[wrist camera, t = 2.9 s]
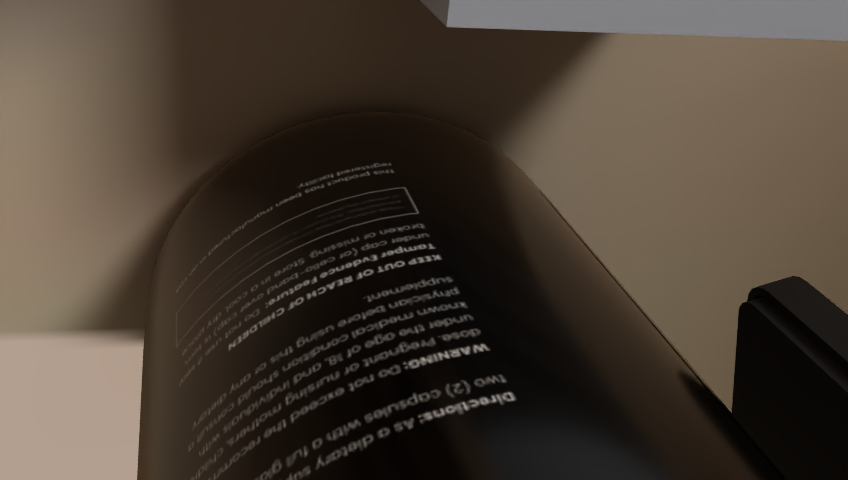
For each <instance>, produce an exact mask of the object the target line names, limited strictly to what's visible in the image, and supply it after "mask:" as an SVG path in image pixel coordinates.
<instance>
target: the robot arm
mask: <svg viewBox="0 0 848 480" xmlns="http://www.w3.org/2000/svg"><path fill="white" fill-rule="evenodd" d="M732 414H733V416H734V417H735V418H736V419H737V420H738V421H739V423H740V424H741V425H742V426H743V427H744V428H745V430H746V431H747V432H748V433H749V434H750V435H751V437H752V438H753V439H754V440H755V441H756V442H757V444H758V445H759V446H760V447H761V448H762V450H763V451H764V452H765V453H766V454H767V455H768V457H769V458H770V459H771V460H772V461H773V462H774V464H775V465H776V466H777V467H778V468H779V469H780V471H781V472H782V473H783V474H784V475H785V476H786V478H787V479H788V480H848V315H847V314H846V313H845V312H843V311H842V310H841V309H840V308H839V307H837V306H836V305H835V304H834V303H832V302H831V301H830V300H829V299H827V298H826V297H825V296H824V295H823V294H821V293H820V292H819V291H818V290H816V289H815V288H814V287H813V286H811V285H810V284H809V283H808V282H807V281H805V280H803V279H802V278H800V277H796V276H792V277H788V278H785V279H782V280H778V281H775V282H772V283H768V284H765V285H762V286H758V287H756V288H753V289H752V290H751V291H750V293H749V295H748V300H747V302H744V303H742V304H741V306H740V308H739V316H738V330H737V345H736V359H735V374H734V388H733V402H732Z"/></svg>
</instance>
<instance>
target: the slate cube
mask: <svg viewBox="0 0 848 480" xmlns="http://www.w3.org/2000/svg"><path fill="white" fill-rule="evenodd" d="M420 1H421V2H422V3H423V4H424V5H425V6H426V7H427V8H428V9H429V10H430V11H431V12H432V13H433V14H434V15H435V16H436V17H437V18H438V19H439V20H440V21H441V22H442V23H443V24H444V25H445V26H446V27H460V28H488V29H517V30H546V31H575V32H604V33H633V34H662V35H691V36H720V37H749V38H778V39H807V40H836V41H848V0H420Z"/></svg>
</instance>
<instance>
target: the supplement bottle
mask: <svg viewBox="0 0 848 480" xmlns="http://www.w3.org/2000/svg"><path fill="white" fill-rule="evenodd" d="M140 413H141V414H140V433H139V454H138V474H137V480H788V479H787V478H786V476H785V475H784V474H783V473H782V472H781V471H780V469H779V468H778V467H777V466H776V465H775V464H774V462H773V461H772V460H771V459H770V458H769V457H768V455H767V454H766V453H765V452H764V451H763V450H762V448H761V447H760V446H759V445H758V444H757V442H756V441H755V440H754V439H753V438H752V437H751V435H750V434H749V433H748V432H747V431H746V430H745V428H744V427H743V426H742V425H741V424H740V423H739V421H738V420H737V419H736V418H735V417H734V416H733V414H732V413H731V412H730V411H729V410H728V409H727V407H726V406H725V405H724V404H723V403H722V401H721V400H720V399H719V398H718V397H717V396H716V394H715V393H714V392H713V391H712V390H711V389H710V387H709V386H708V385H707V384H706V383H705V382H704V380H703V379H702V378H701V377H700V376H699V375H698V373H697V372H696V371H695V370H694V369H693V368H692V366H691V365H690V364H689V363H688V362H687V361H686V359H685V358H684V357H683V356H682V355H681V353H680V352H679V351H678V350H677V349H676V348H675V346H674V345H673V344H672V343H671V342H670V341H669V339H668V338H667V337H666V336H665V335H664V334H663V332H662V331H661V330H660V329H659V328H658V327H657V325H656V324H655V323H654V322H653V321H652V320H651V318H650V317H649V316H648V315H647V314H646V313H645V311H644V310H643V309H642V308H641V307H640V305H639V304H638V303H637V302H636V301H635V300H634V298H633V297H632V296H631V295H630V294H629V293H628V291H627V290H626V289H625V288H624V287H623V286H622V284H621V283H620V282H619V281H618V280H617V279H616V277H615V276H614V275H613V274H612V273H611V272H610V270H609V269H608V268H607V267H606V266H605V264H604V263H603V262H602V261H601V260H600V259H599V257H598V256H597V255H596V254H595V253H594V252H593V250H592V249H591V248H590V247H589V246H588V245H587V243H586V242H585V241H584V240H583V239H582V238H581V236H580V235H579V234H578V233H577V232H576V231H575V229H574V228H573V227H572V226H571V225H570V224H569V222H568V221H567V220H566V219H565V218H564V216H563V215H562V214H561V213H560V212H559V211H558V209H557V208H556V207H555V206H554V205H553V204H552V202H551V201H550V200H549V199H548V198H547V197H546V196H545V195H544V194H543V193H542V192H541V191H540V189H539V188H538V187H537V186H536V185H535V184H534V183H533V182H532V181H531V179H530V178H529V177H528V176H527V175H526V174H525V173H524V172H523V171H522V170H521V169H520V168H519V167H518V166H517V165H516V164H515V163H514V162H513V161H512V160H510V159H509V158H508V157H507V156H506V155H504V154H503V153H502V152H501V151H499V150H498V149H497V148H496V147H494V146H493V145H491V144H489V143H488V142H486V141H485V140H483V139H482V138H480V137H478V136H476V135H474V134H472V133H470V132H468V131H466V130H464V129H462V128H459V127H456V126H454V125H451V124H448V123H445V122H443V121H439V120H435V119H431V118H427V117H423V116H419V115H412V114H405V113H398V112H358V113H349V114H342V115H335V116H330V117H325V118H321V119H317V120H313V121H309V122H306V123H303V124H300V125H297V126H294V127H291V128H288V129H286V130H284V131H282V132H279V133H277V134H275V135H273V136H270V137H268V138H266V139H264V140H263V141H261V142H259V143H257V144H256V145H254V146H252V147H250V148H248V149H247V150H245V151H244V152H242V153H241V154H240V155H238V156H237V157H235V158H234V159H232V160H231V161H229V162H228V163H227V164H226V165H225V166H223V167H222V168H221V169H220V170H219V171H217V172H216V173H215V174H214V175H213V176H212V177H211V178H210V179H209V180H208V181H207V182H206V183H205V184H204V185H203V186H202V187H201V188H200V189H199V190H198V191H197V192H196V193H195V195H194V196H193V197H192V198H191V200H190V201H189V202H188V203H187V205H186V206H185V207H184V208H183V210H182V211H181V213H180V214H179V216H178V217H177V219H176V221H175V222H174V224H173V225H172V227H171V228H170V230H169V232H168V234H167V236H166V238H165V240H164V243H163V245H162V247H161V249H160V252H159V255H158V258H157V260H156V263H155V266H154V270H153V275H152V279H151V284H150V288H149V293H148V303H147V313H146V326H145V339H144V350H143V373H142V392H141V412H140Z"/></svg>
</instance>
